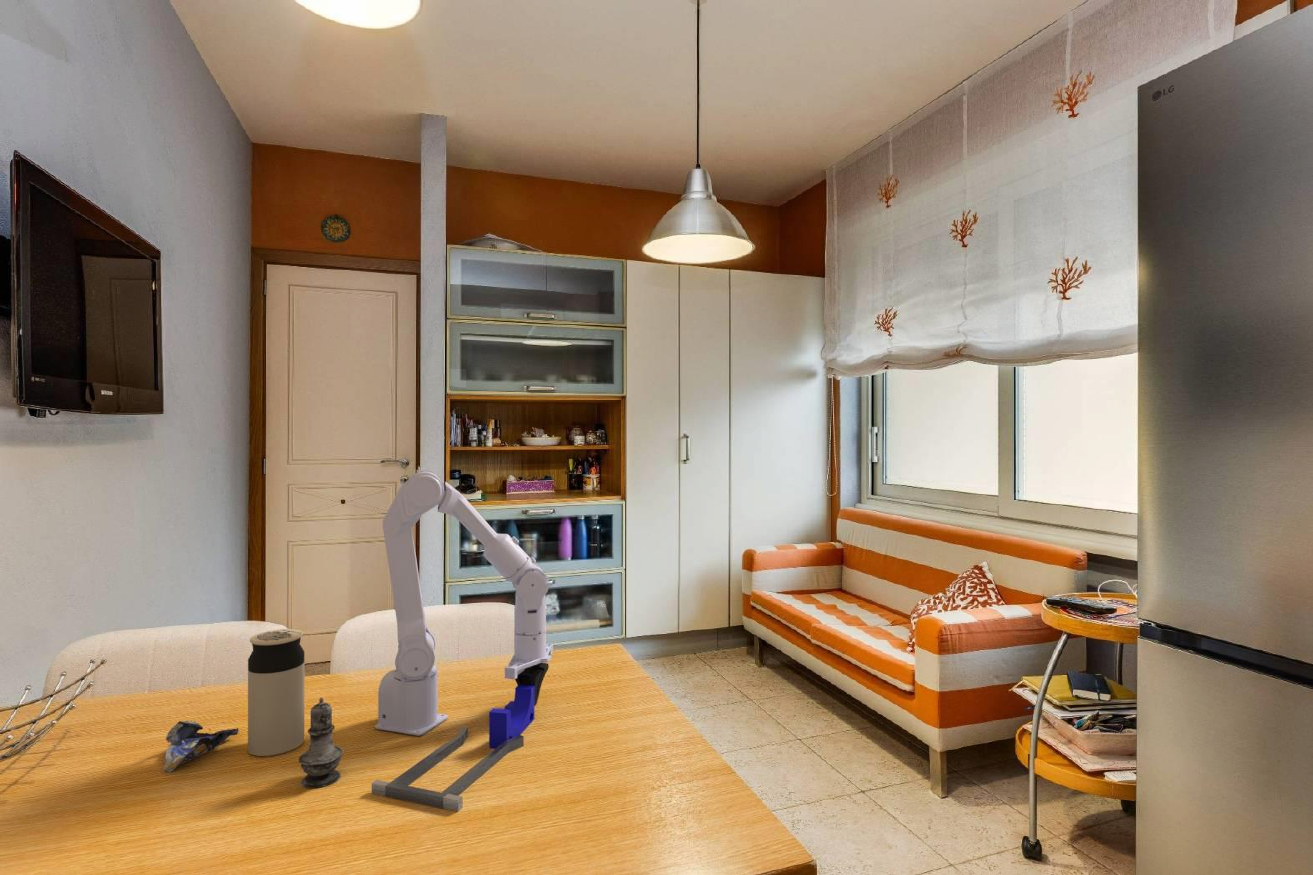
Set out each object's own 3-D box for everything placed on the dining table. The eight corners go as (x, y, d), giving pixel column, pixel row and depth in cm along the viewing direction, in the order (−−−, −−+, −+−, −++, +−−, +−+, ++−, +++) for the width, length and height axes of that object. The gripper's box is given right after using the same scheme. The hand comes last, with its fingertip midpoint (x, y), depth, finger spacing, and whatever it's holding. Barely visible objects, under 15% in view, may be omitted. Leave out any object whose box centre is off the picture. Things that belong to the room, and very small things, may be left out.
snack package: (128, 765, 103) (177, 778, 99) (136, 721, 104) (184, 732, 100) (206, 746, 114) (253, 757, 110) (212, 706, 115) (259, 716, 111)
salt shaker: (298, 793, 95) (298, 708, 95) (298, 774, 100) (298, 693, 100) (344, 783, 97) (344, 700, 97) (342, 765, 103) (342, 687, 103)
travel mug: (264, 762, 103) (264, 645, 103) (237, 749, 108) (238, 637, 108) (314, 742, 110) (314, 633, 110) (287, 731, 114) (287, 625, 114)
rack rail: (371, 793, 95) (371, 783, 95) (456, 733, 114) (456, 724, 114) (458, 811, 90) (458, 800, 90) (531, 745, 109) (531, 736, 109)
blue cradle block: (510, 717, 121) (510, 684, 121) (534, 719, 120) (534, 686, 120) (480, 748, 109) (480, 711, 109) (506, 750, 108) (506, 713, 108)
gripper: (530, 644, 115) (530, 724, 115) (567, 622, 129) (567, 693, 129) (494, 640, 117) (494, 718, 117) (534, 619, 131) (534, 688, 131)
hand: (529, 705), depth 123 cm, fingers closed
